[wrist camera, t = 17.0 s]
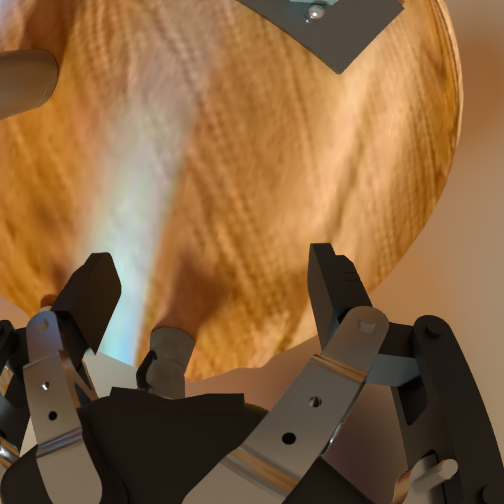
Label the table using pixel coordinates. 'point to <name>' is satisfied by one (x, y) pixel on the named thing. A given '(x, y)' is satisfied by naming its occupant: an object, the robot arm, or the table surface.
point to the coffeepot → (166, 363)
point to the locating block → (317, 1)
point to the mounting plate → (330, 25)
